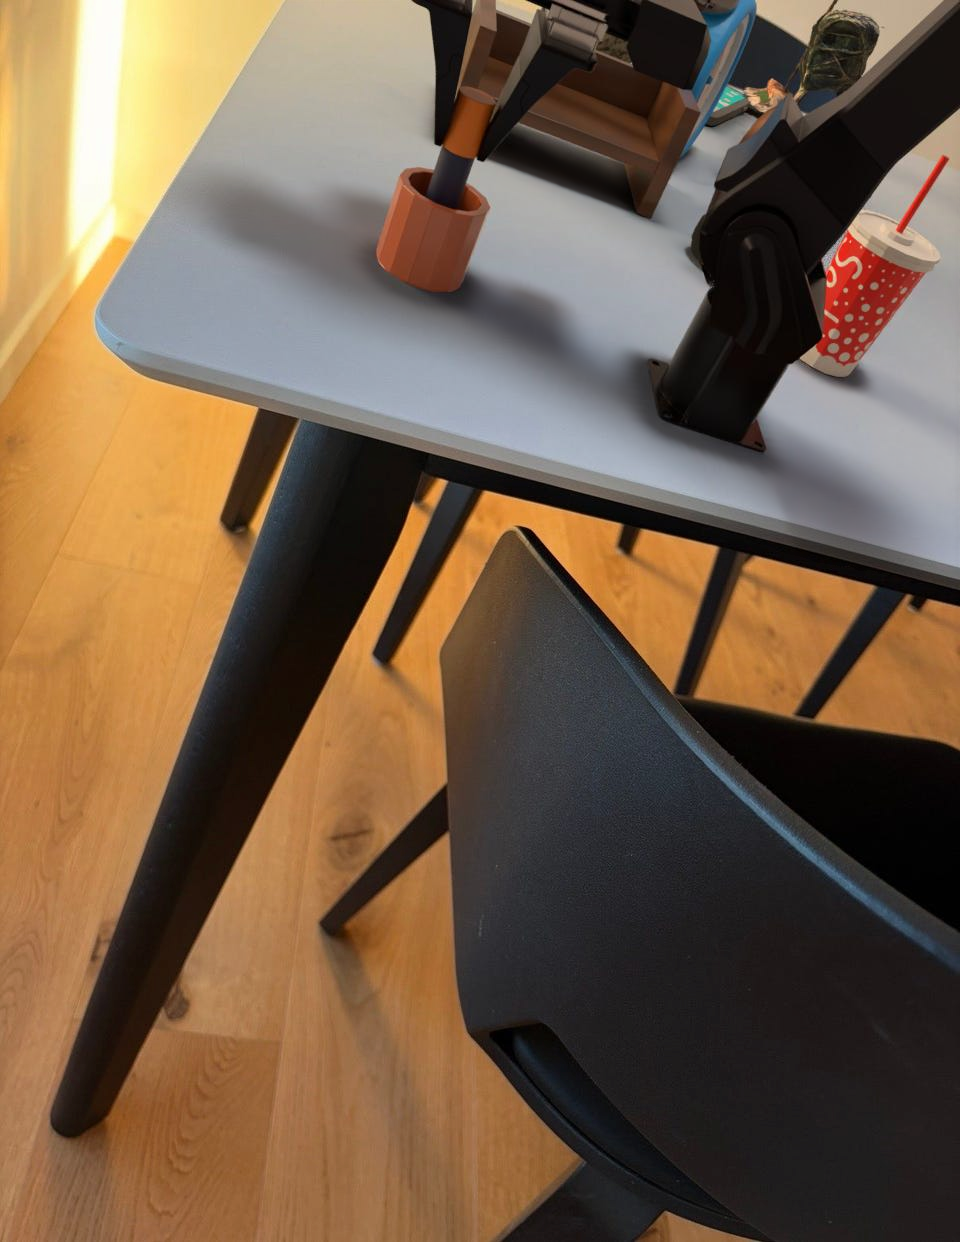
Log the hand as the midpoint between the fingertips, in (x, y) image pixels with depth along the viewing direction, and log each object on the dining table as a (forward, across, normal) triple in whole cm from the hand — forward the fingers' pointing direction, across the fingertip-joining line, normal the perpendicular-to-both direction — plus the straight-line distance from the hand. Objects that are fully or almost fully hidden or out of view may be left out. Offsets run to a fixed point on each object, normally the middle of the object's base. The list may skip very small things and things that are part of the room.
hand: (459, 150), depth 58 cm
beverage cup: (+7, -28, -8) cm, 30 cm away
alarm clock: (+7, -19, -39) cm, 44 cm away
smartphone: (+7, -27, -60) cm, 66 cm away
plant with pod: (+7, -38, -65) cm, 76 cm away
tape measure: (+7, -23, -17) cm, 30 cm away
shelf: (+7, -9, -27) cm, 29 cm away
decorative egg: (+7, -15, -55) cm, 57 cm away
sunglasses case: (+7, -33, -45) cm, 56 cm away
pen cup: (+7, 0, 0) cm, 7 cm away
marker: (+7, 0, 0) cm, 7 cm away
